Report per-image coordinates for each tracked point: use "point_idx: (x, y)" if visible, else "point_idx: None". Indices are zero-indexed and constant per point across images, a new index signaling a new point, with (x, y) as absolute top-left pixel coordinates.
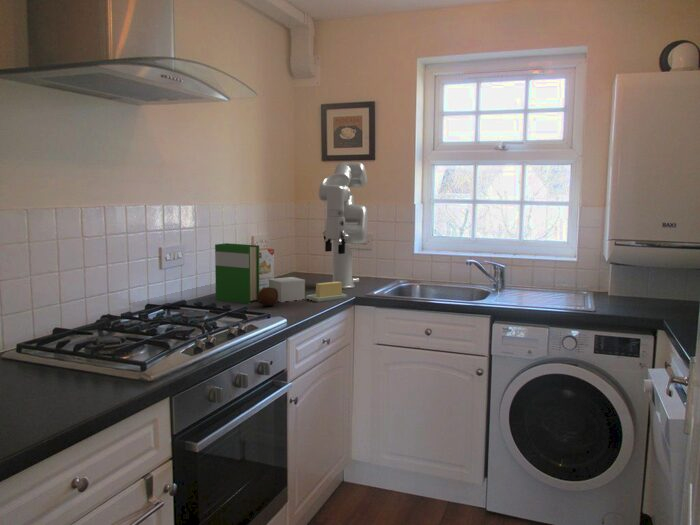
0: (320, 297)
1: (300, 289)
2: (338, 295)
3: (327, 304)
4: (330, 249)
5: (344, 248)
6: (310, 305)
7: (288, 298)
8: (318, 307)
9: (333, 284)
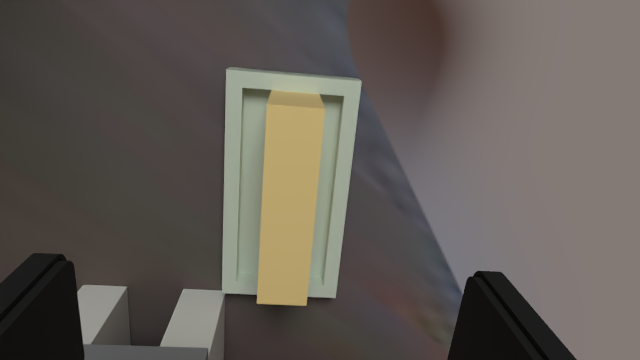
0: (327, 273)
1: (215, 357)
2: (346, 148)
3: (408, 276)
4: (57, 301)
5: (544, 335)
6: (370, 349)
7: None
8: (432, 347)
9: (316, 189)
